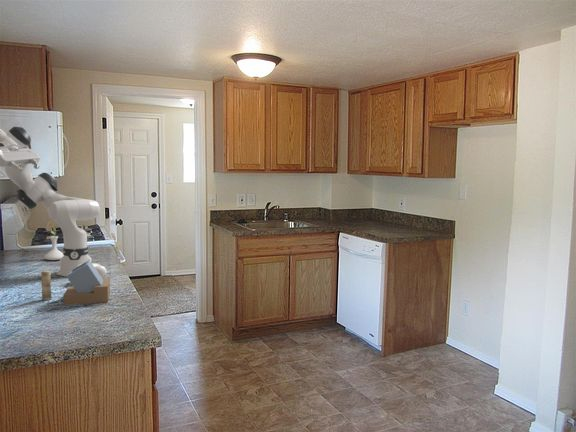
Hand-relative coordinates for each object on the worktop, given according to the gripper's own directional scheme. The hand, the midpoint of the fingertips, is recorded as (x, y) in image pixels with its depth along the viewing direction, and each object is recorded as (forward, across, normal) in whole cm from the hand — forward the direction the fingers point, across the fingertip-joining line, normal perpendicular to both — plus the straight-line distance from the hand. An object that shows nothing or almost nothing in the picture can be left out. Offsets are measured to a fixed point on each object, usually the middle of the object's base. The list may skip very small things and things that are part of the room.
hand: (29, 168), depth 211 cm
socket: (+61, +10, -21) cm, 65 cm away
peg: (+48, +17, -30) cm, 59 cm away
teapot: (+46, -14, -36) cm, 60 cm away
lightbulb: (+57, -5, -27) cm, 63 cm away
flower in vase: (+6, -47, -72) cm, 86 cm away
